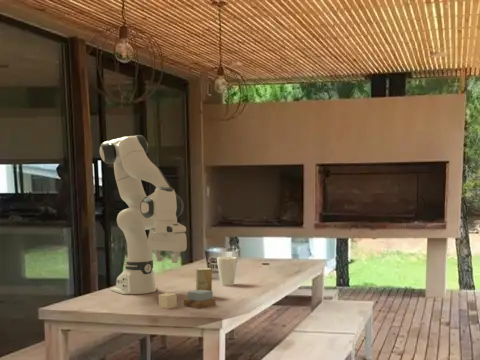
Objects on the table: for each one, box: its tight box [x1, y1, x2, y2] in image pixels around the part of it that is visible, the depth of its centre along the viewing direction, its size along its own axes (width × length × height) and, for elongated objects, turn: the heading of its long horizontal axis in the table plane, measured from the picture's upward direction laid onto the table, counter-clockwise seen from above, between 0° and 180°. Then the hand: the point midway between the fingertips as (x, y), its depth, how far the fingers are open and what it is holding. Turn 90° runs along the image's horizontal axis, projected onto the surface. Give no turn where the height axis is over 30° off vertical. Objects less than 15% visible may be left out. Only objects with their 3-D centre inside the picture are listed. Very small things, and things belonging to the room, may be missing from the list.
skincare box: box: [195, 267, 213, 291], centre depth 243 cm, size 6×4×12 cm
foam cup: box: [216, 256, 238, 287], centre depth 272 cm, size 10×9×13 cm
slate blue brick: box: [187, 289, 214, 301], centre depth 226 cm, size 7×7×3 cm
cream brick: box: [158, 292, 178, 310], centre depth 224 cm, size 5×5×5 cm
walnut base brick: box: [183, 297, 216, 309], centre depth 226 cm, size 9×9×3 cm
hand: (167, 262), depth 224 cm, fingers open, 8 cm apart
